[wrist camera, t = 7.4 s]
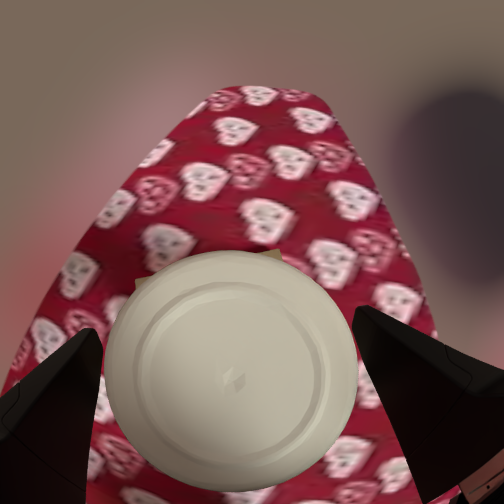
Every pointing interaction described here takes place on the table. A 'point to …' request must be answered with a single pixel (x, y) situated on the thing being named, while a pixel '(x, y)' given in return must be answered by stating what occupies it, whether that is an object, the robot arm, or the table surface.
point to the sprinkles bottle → (231, 371)
